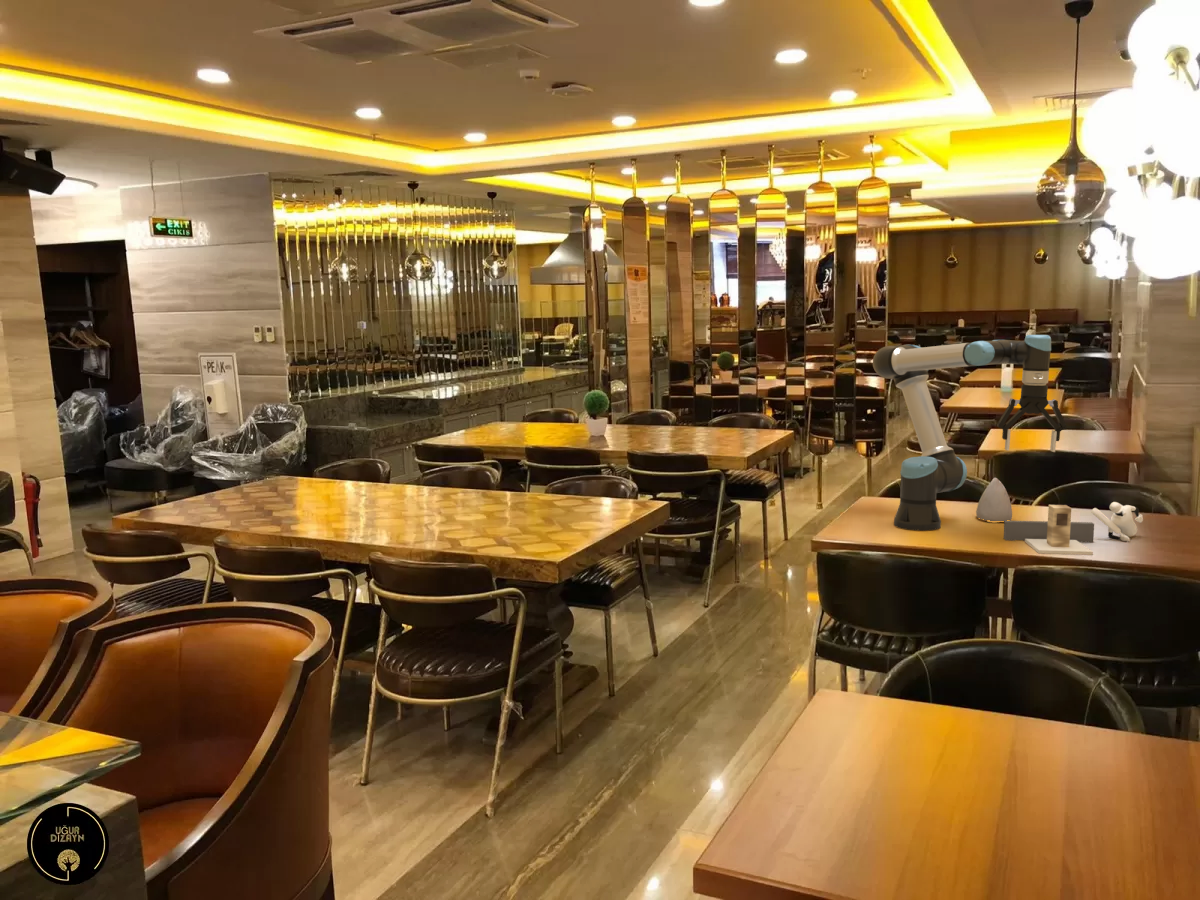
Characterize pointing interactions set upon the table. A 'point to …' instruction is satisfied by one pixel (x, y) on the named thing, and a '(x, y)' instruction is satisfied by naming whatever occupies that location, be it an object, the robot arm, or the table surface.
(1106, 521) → the cricket player figurine
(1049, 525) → the letter block
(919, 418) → the robot arm
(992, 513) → the sculpture
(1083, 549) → the mat
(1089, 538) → the grey plank
